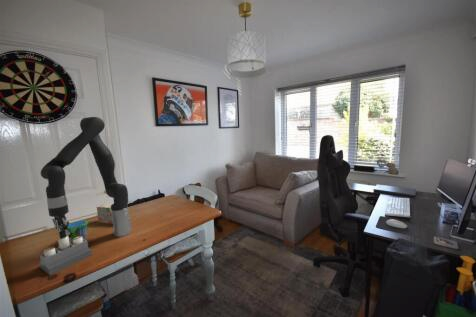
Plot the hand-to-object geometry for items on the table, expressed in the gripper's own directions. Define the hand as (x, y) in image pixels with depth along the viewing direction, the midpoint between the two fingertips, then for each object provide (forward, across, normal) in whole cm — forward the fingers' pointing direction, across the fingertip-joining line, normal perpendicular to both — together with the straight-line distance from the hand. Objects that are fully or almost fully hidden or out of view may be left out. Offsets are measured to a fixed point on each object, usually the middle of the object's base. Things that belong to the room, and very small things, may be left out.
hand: (63, 237), depth 108 cm
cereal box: (+13, +26, -39) cm, 49 cm away
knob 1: (+10, 0, +6) cm, 11 cm away
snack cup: (+13, +20, -14) cm, 28 cm away
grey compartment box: (+13, 0, 0) cm, 13 cm away
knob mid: (+6, 0, 0) cm, 6 cm away
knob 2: (+10, 0, -6) cm, 11 cm away
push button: (+13, +12, -6) cm, 19 cm away
